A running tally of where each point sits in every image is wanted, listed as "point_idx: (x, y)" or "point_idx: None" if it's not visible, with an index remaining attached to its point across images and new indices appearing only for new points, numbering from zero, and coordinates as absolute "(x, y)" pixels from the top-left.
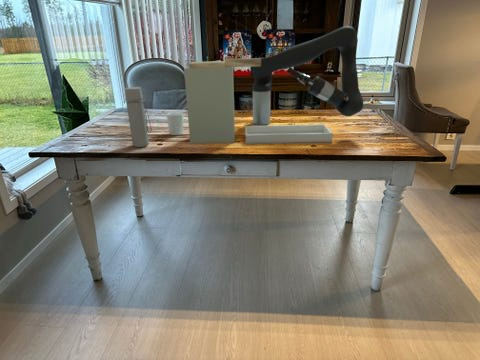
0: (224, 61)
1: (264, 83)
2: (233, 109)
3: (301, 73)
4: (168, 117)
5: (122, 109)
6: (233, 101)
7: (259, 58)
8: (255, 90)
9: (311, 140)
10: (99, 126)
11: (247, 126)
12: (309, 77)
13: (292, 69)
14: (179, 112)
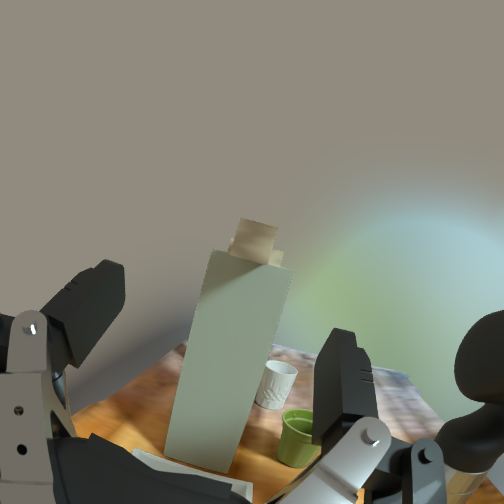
0: (273, 249)
1: (476, 432)
2: (180, 377)
3: (301, 478)
4: (267, 365)
5: (401, 374)
6: (199, 362)
7: (263, 224)
8: (435, 438)
9: None
10: (309, 359)
11: (246, 486)
12: (5, 492)
13: (106, 260)
14: (295, 373)
